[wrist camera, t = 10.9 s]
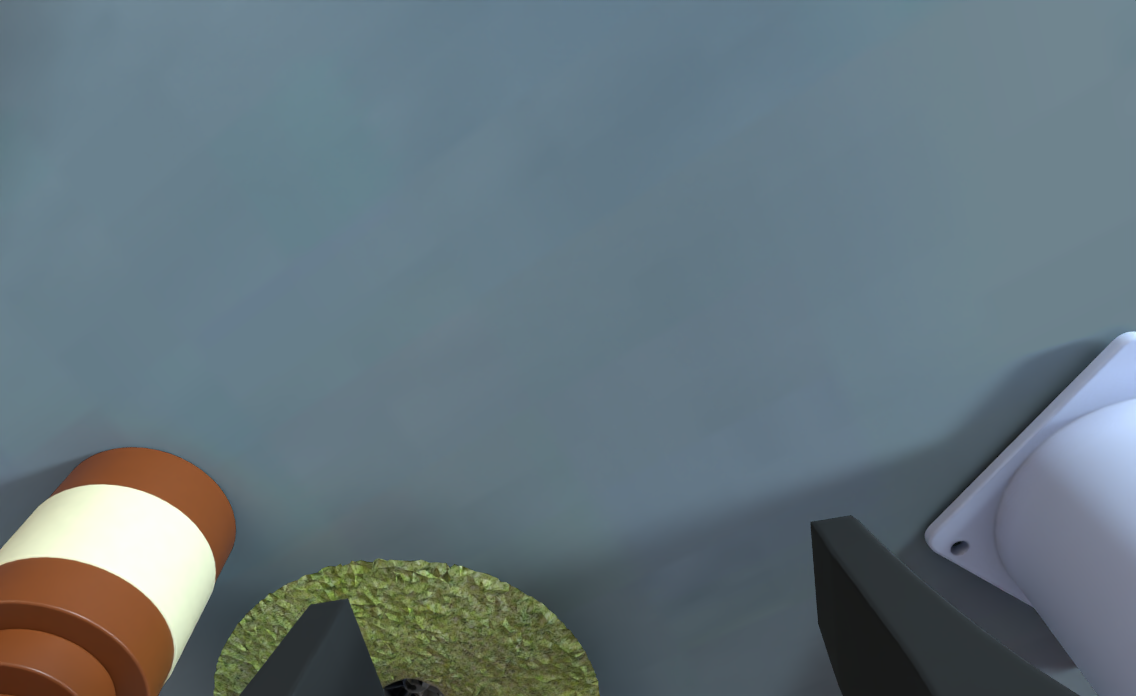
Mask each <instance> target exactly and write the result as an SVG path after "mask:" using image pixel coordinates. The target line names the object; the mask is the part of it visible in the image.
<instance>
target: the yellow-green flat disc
mask: <svg viewBox="0 0 1136 696" xmlns="http://www.w3.org/2000/svg"><path fill="white" fill-rule="evenodd" d="M347 598H348V600H349V603H350V605H351V608H352V610H353V613H354V615H355V618H356V621H357V623H358V626H359V628H360V631H361V633H362V636H363V639H364V641H365V644H366V646H367V649H368V651H369V654H370V657H371V659H372V662H373V664H374V667H375V670H376V672H377V675H378V677H379V680H380V682H381V685H382V688H383V690H384V696H600V695H599V687H598V680H597V679H596V674H595V673H594V669H593V667H592V664H591V662H590V660H589V659H588V657H587V655H586V652H585V651H584V649H583V648H582V646H581V644H580V643H579V642H578V640H577V638H575V636H574V635H573V634H572V632H571V631H570V630H569V629H567V628H566V627H565V625H564V623H563V622H561V621H560V620H559V619H557V616H556V615H555V614H553V613H552V612H551V611H550V610H549V609H548V608H547V607H546V606H545V605H544V604H542V603H540V602H538V601H537V600H535V599H534V598H533V597H531V596H528V595H526V594H524V593H523V592H521V591H520V590H519V589H518V588H515V587H513V586H511V585H510V584H508V583H506V582H501V581H500V580H499V579H498V578H496V577H493V576H491V575H489V574H485V573H481V572H475V571H473V570H470V569H468V568H466V567H463V566H458V565H455V564H454V565H453V566H452V567H451V568H449V566H448V565H447V564H446V563H437V562H434V563H428V562H426V561H423V560H418V561H399V560H389V561H386V560H383V559H379V558H378V559H376V560H375V561H374V562H366V561H362V560H360V561H356V562H354V561H351V563H350V564H347V565H345V566H342V565H341V564H339V565H338V566H328V567H325V568H323V569H321V570H320V571H319V572H318V573H314V574H310V575H305V576H303V577H301V578H300V579H299V580H297V581H293V582H290V583H287V584H286V585H284V586H283V587H281V588H280V589H278V590H277V591H275V592H274V593H273V594H272V593H269V594H268V596H267V597H266V599H263V600H261V601H260V602H259V603H258V604H257V605H256V606H255V607H254V608H253V609H252V610H250V611H249V612H248V613H247V614H246V615H245V617H244V618H243V619H242V620H241V621H240V623H238V624H237V626H236V628H235V629H234V631H233V632H232V634H231V636H230V637H229V639H228V640H227V642H226V644H225V646H224V647H223V650H222V652H221V655H220V657H219V659H218V663H217V665H216V672H215V675H214V680H215V683H214V684H215V689H214V696H239V695H240V694H241V692H242V691H243V690H244V689H245V687H246V686H247V685H248V684H249V682H250V681H251V680H252V679H253V677H254V676H255V675H256V674H257V672H258V671H259V670H260V668H261V667H262V666H263V665H264V663H265V662H266V661H267V659H268V658H269V657H270V655H271V654H272V653H273V652H274V650H275V649H276V648H277V646H278V645H279V644H280V642H281V641H282V640H283V639H284V637H285V636H286V635H287V633H288V632H289V631H290V629H291V628H292V627H293V626H294V624H295V623H296V622H297V620H298V619H299V618H300V617H301V615H302V614H303V613H304V612H305V610H306V609H307V608H308V607H309V605H311V604H317V603H323V602H329V601H335V600H341V599H347Z"/></svg>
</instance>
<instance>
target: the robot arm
mask: <svg viewBox="0 0 1136 696" xmlns="http://www.w3.org/2000/svg"><path fill="white" fill-rule="evenodd" d="M811 535H812V548H813V561H814V574H815V588H816V601H817V614H818V624H819V628H820V631H821V634H822V637H823V640H824V643H825V646H826V649H827V652H828V655H829V658H830V661H831V664H832V667H833V670H834V673H835V676H836V679H837V682H838V685H839V688H840V690H841V692H842V694H843V696H1079V695H1078V694H1076V693H1074V692H1073V691H1071V690H1070V689H1068V688H1066V687H1065V686H1063V685H1062V684H1060V683H1059V682H1057V681H1056V680H1054V679H1053V678H1051V677H1049V676H1048V675H1046V674H1045V673H1043V672H1042V671H1040V670H1039V669H1037V668H1036V667H1034V666H1033V665H1031V664H1030V663H1029V662H1027V661H1026V660H1024V659H1023V658H1021V657H1020V656H1019V655H1017V654H1016V653H1014V652H1013V651H1012V650H1010V649H1009V648H1007V647H1006V646H1005V645H1003V644H1002V643H1001V642H999V641H998V640H997V639H995V638H994V637H993V636H991V635H990V634H989V633H987V632H986V631H985V630H983V629H982V628H981V627H979V626H978V625H977V624H975V623H974V622H973V621H972V620H970V619H969V618H968V617H966V616H965V615H964V614H963V613H961V612H960V611H959V610H958V609H956V608H955V607H954V606H953V605H952V604H950V603H949V602H948V601H947V600H946V599H944V598H943V597H942V596H941V595H940V594H938V593H937V592H936V591H935V590H934V589H932V588H931V587H930V586H929V585H928V584H926V583H925V582H924V581H923V580H922V579H921V578H920V577H918V576H917V575H916V574H915V573H914V572H913V571H912V570H911V569H909V568H908V567H907V566H906V565H905V564H904V563H903V562H902V561H901V560H900V559H898V558H897V557H896V556H895V555H894V554H893V553H892V552H891V551H890V550H889V549H888V548H887V547H885V546H884V545H883V544H882V543H881V542H880V541H879V540H878V539H877V538H876V537H875V536H874V535H873V534H872V533H871V532H870V531H869V530H868V529H867V528H866V527H865V526H864V525H863V524H862V523H861V522H860V521H859V520H857V519H856V518H854V517H853V516H851V515H850V516H844V517H838V518H832V519H826V520H820V521H814V522H811ZM925 540H926V542H927V544H928V545H929V547H930V548H931V549H932V550H933V551H934V552H935V553H937V554H939V555H941V556H943V557H944V558H946V559H948V560H950V561H951V562H953V563H955V564H957V565H959V566H960V567H962V568H964V569H966V570H967V571H969V572H971V573H973V574H975V575H976V576H978V577H980V578H982V579H983V580H985V581H987V582H989V583H991V584H992V585H994V586H996V587H998V588H999V589H1001V590H1003V591H1005V592H1007V593H1008V594H1010V595H1012V596H1014V597H1015V598H1017V599H1019V600H1021V601H1023V602H1024V603H1026V604H1028V605H1030V606H1031V607H1033V608H1035V610H1036V611H1037V613H1038V614H1039V615H1040V617H1041V618H1042V619H1043V621H1044V622H1045V623H1046V625H1047V626H1048V628H1049V629H1050V630H1051V632H1052V633H1053V634H1054V636H1055V637H1056V639H1057V640H1058V641H1059V643H1060V644H1061V645H1062V647H1063V648H1064V649H1065V651H1066V652H1067V654H1068V655H1069V656H1070V658H1071V659H1072V660H1073V662H1074V663H1075V665H1076V666H1077V667H1078V669H1079V670H1080V671H1081V673H1082V674H1083V675H1084V677H1085V678H1086V680H1087V681H1088V682H1089V684H1090V685H1091V686H1092V688H1093V689H1094V691H1095V692H1096V693H1097V695H1098V696H1136V332H1126V333H1124V334H1121V335H1119V336H1118V337H1117V338H1115V339H1114V340H1113V341H1112V342H1111V343H1110V344H1109V345H1108V346H1107V347H1106V348H1105V349H1104V350H1103V351H1102V352H1101V353H1100V354H1099V355H1098V356H1097V357H1096V358H1095V359H1094V360H1093V361H1092V362H1091V363H1090V364H1089V365H1088V366H1087V367H1086V368H1085V369H1084V370H1083V371H1082V372H1081V373H1080V374H1079V375H1078V376H1077V377H1076V378H1075V379H1074V380H1073V381H1072V382H1071V383H1070V384H1069V385H1068V386H1067V387H1066V388H1065V389H1064V390H1063V391H1062V392H1061V393H1060V394H1059V396H1058V397H1057V398H1056V399H1055V400H1054V401H1053V402H1052V403H1051V404H1050V405H1049V406H1048V407H1047V408H1046V409H1045V410H1044V411H1043V412H1042V413H1041V414H1040V415H1039V416H1038V417H1037V418H1036V419H1035V420H1034V421H1033V422H1032V423H1031V424H1030V425H1029V426H1028V427H1027V428H1026V429H1025V430H1024V431H1023V432H1022V433H1021V434H1020V435H1019V436H1018V437H1017V438H1016V439H1015V440H1014V441H1013V442H1012V443H1011V444H1010V445H1009V446H1008V447H1007V448H1006V449H1005V450H1004V451H1003V452H1002V453H1001V454H1000V455H999V456H998V457H997V458H996V459H995V460H994V461H993V462H992V463H991V464H990V465H989V466H988V467H987V468H986V469H985V470H984V471H983V472H982V473H981V474H980V475H979V476H978V477H977V478H976V479H975V480H974V481H973V482H972V483H971V484H970V485H969V486H968V487H967V488H966V489H965V490H964V491H963V492H962V493H961V495H960V496H959V497H958V498H957V499H956V500H955V501H954V502H953V503H952V504H951V505H950V506H949V507H948V508H947V509H946V510H945V511H944V512H943V513H942V514H941V515H940V516H939V517H938V518H937V519H936V520H935V521H934V522H933V523H932V524H931V525H930V526H929V527H928V529H927V530H926V532H925ZM958 541H962V542H961V543H960V544H959V545H957V546H953V547H952V545H953V544H954V543H956V542H958ZM239 696H384V690H383V688H382V685H381V682H380V680H379V677H378V675H377V672H376V670H375V667H374V664H373V662H372V659H371V657H370V654H369V651H368V649H367V646H366V644H365V641H364V639H363V636H362V633H361V631H360V628H359V626H358V623H357V621H356V618H355V615H354V613H353V610H352V608H351V605H350V603H349V600H348V598H347V599H341V600H335V601H329V602H323V603H317V604H311V605H309V607H308V608H307V609H306V610H305V612H304V613H303V614H302V615H301V617H300V618H299V619H298V620H297V622H296V623H295V624H294V626H293V627H292V628H291V629H290V631H289V632H288V633H287V635H286V636H285V637H284V639H283V640H282V641H281V642H280V644H279V645H278V646H277V648H276V649H275V650H274V652H273V653H272V654H271V655H270V657H269V658H268V659H267V661H266V662H265V663H264V665H263V666H262V667H261V668H260V670H259V671H258V672H257V674H256V675H255V676H254V677H253V679H252V680H251V681H250V682H249V684H248V685H247V686H246V687H245V689H244V690H243V691H242V692H241V694H240V695H239Z"/></svg>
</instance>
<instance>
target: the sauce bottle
mask: <svg viewBox="0 0 1136 696" xmlns="http://www.w3.org/2000/svg"><path fill="white" fill-rule="evenodd" d="M235 534H236V525H235V518H234V514H233V510H232V508H231V505H230V503H229V501H228V499H227V498H226V496H225V494H224V493H223V491H222V490H221V489H220V487H219V486H218V485H217V484H216V483H215V482H214V481H213V480H212V479H211V478H210V477H209V476H208V475H207V474H206V473H204V472H203V471H202V470H201V469H199V468H198V467H196V466H195V465H193V464H191V463H189V462H188V461H186V460H184V459H182V458H180V457H177V456H175V455H172V454H169V453H166V452H162V451H159V450H154V449H148V448H137V447H128V448H118V449H111V450H108V451H104V452H101V453H98V454H96V455H94V456H91V457H89V458H88V459H86V460H85V461H83V462H82V463H80V464H79V465H78V466H77V467H76V468H75V469H74V470H73V471H72V472H71V473H70V474H69V475H68V477H67V478H66V479H65V480H64V481H63V482H62V483H61V485H60V486H59V487H58V488H57V489H56V490H55V491H54V492H53V494H52V495H51V496H50V497H49V498H48V499H47V500H46V501H44V502H43V503H42V504H41V505H40V506H39V507H38V508H37V509H36V510H35V511H34V512H33V513H32V514H31V515H30V517H29V518H28V519H27V520H26V521H25V522H24V523H23V525H22V526H21V527H20V528H19V529H18V530H17V531H16V532H15V534H14V535H13V536H12V537H11V538H10V539H9V540H8V542H7V543H6V544H5V545H4V546H3V547H2V548H1V549H0V696H158V695H159V693H160V691H161V689H162V687H163V685H164V684H165V683H166V681H167V680H168V678H169V677H170V676H171V674H172V672H173V670H174V668H175V666H176V664H177V662H178V660H179V658H180V656H181V654H182V652H183V650H184V648H185V646H186V644H187V642H188V640H189V638H190V636H191V634H192V632H193V630H194V628H195V626H196V624H197V622H198V620H199V618H200V616H201V614H202V612H203V610H204V608H205V606H206V604H207V602H208V600H209V598H210V596H211V594H212V592H213V588H214V585H215V582H216V580H217V578H218V576H219V574H220V572H221V570H222V568H223V566H224V564H225V562H226V560H227V558H228V556H229V554H230V552H231V550H232V548H233V545H234V541H235Z"/></svg>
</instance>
